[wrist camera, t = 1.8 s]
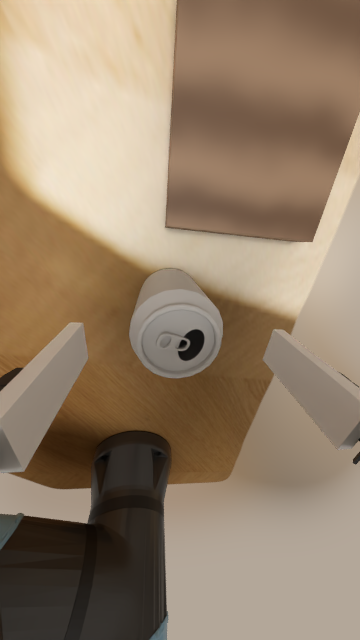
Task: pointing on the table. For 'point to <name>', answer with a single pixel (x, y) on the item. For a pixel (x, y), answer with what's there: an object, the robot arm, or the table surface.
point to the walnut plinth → (260, 113)
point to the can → (175, 325)
